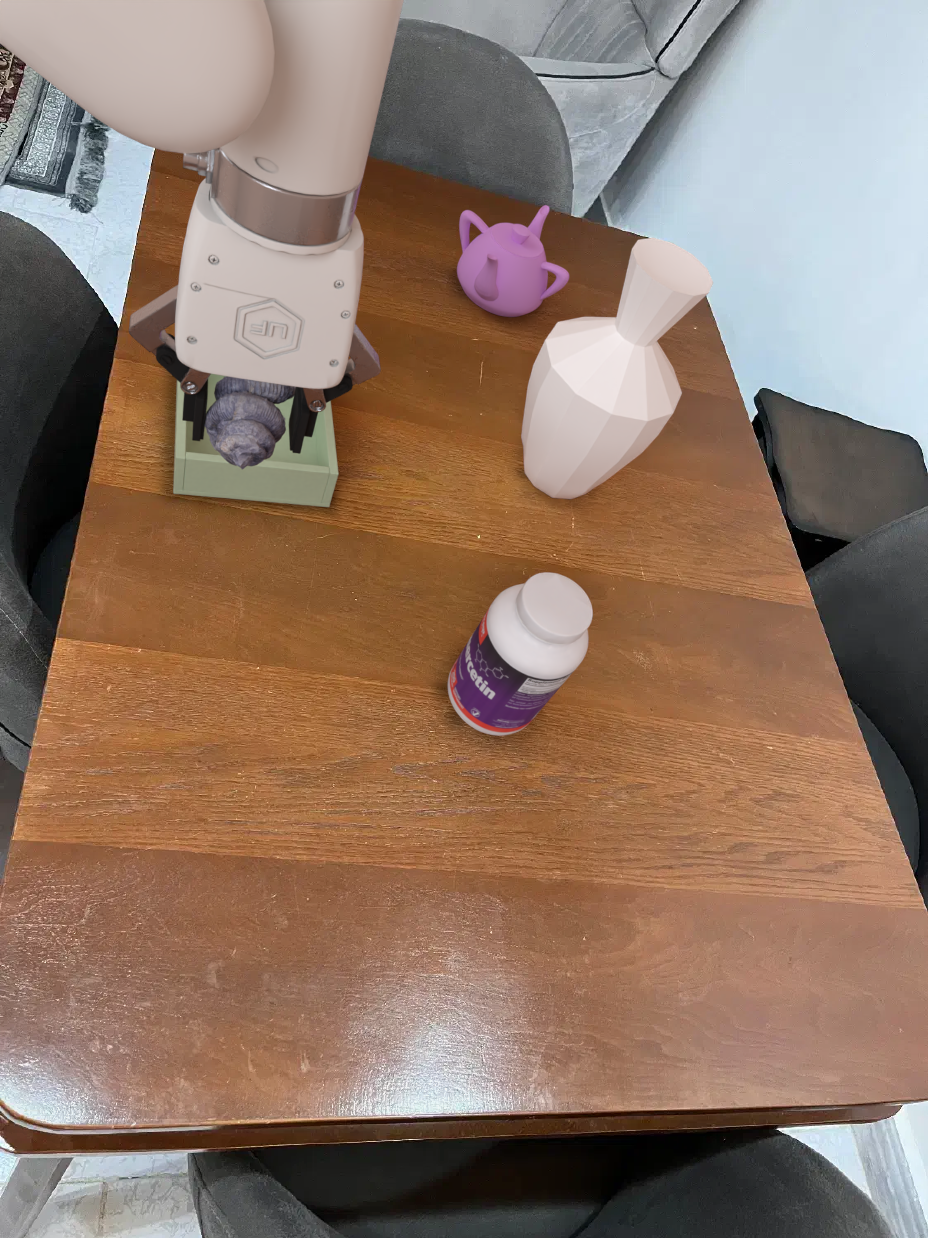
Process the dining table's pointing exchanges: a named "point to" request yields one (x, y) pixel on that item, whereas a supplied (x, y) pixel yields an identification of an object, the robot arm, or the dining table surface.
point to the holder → (268, 481)
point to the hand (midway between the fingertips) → (247, 430)
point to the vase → (609, 376)
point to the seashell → (246, 419)
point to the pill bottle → (521, 653)
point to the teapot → (506, 266)
